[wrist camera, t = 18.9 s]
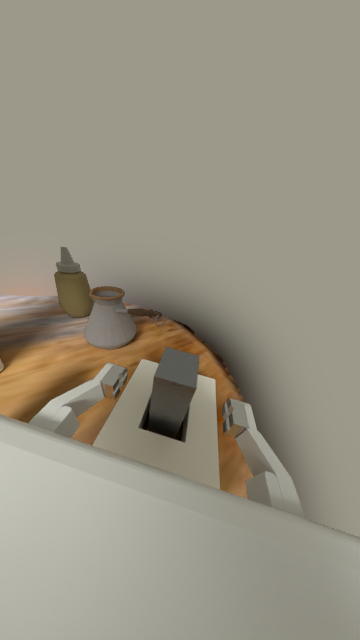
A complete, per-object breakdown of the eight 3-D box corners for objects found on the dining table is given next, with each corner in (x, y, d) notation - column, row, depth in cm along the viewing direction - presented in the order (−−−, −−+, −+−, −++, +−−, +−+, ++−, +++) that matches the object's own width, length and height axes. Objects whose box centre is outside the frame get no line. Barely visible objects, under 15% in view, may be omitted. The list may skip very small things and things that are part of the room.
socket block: (90, 473, 16) (82, 463, 13) (141, 373, 27) (142, 358, 25) (207, 514, 15) (220, 511, 12) (208, 392, 27) (215, 379, 24)
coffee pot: (77, 337, 33) (59, 275, 25) (120, 321, 41) (117, 271, 33) (131, 398, 23) (128, 330, 15) (173, 361, 32) (185, 305, 24)
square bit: (146, 434, 19) (153, 376, 12) (156, 406, 23) (165, 346, 16) (173, 443, 19) (196, 388, 12) (178, 412, 23) (199, 355, 15)
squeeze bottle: (72, 323, 36) (50, 250, 27) (57, 312, 39) (33, 242, 30) (101, 313, 42) (91, 251, 33) (86, 304, 46) (74, 245, 36)
